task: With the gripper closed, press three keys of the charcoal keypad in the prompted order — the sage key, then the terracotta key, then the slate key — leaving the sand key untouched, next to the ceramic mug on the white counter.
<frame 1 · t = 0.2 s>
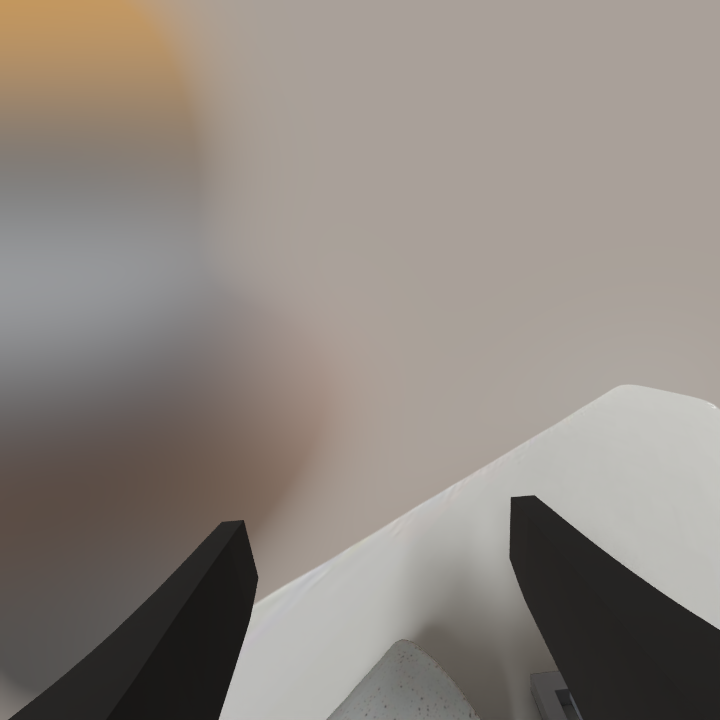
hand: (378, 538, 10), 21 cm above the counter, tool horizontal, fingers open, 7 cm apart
slate key: (625, 716, 20), point 3 cm above the counter, slide at 0.0 cm
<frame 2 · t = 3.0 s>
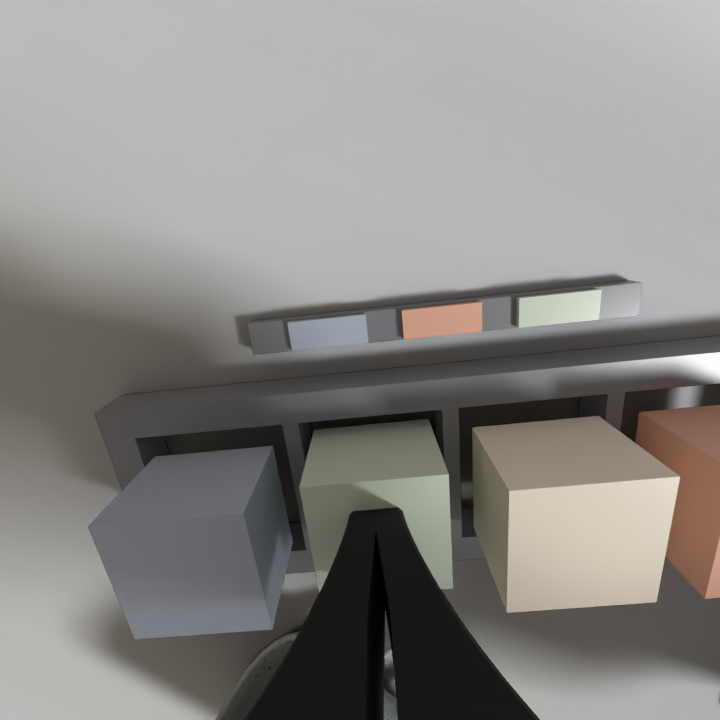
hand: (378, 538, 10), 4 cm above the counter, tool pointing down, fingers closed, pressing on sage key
keypad base: (443, 454, 13), on the counter
sage key: (377, 502, 11), point 2 cm above the counter, slide at 0.8 cm, touching gripper
sand key: (556, 507, 10), point 3 cm above the counter, slide at 0.0 cm
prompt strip: (437, 316, 12), on the counter
ceramic mug: (351, 661, 17), on the counter
slate key: (208, 535, 11), point 3 cm above the counter, slide at 0.0 cm
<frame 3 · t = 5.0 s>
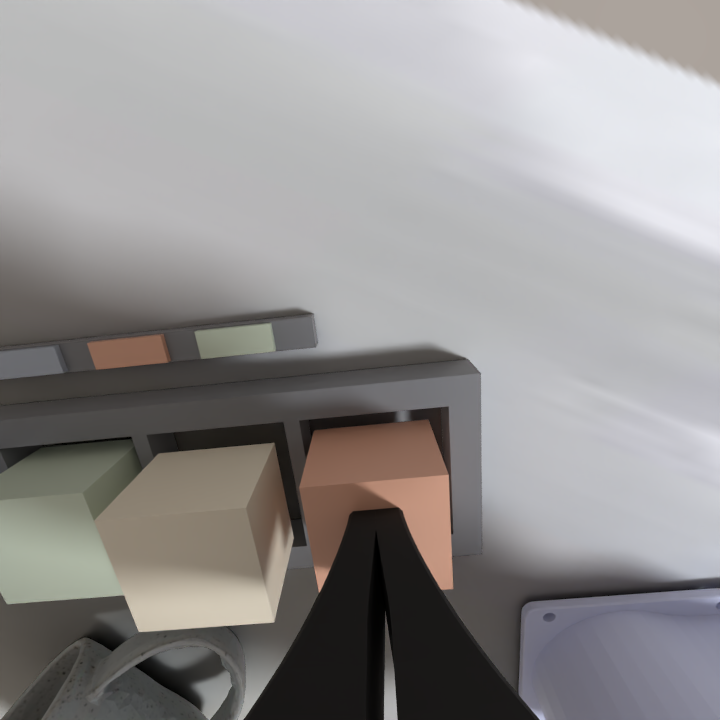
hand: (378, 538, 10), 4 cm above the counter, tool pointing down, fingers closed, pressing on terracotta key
keypad base: (179, 475, 14), on the counter
sage key: (79, 515, 12), point 2 cm above the counter, slide at 1.2 cm
sand key: (211, 530, 11), point 3 cm above the counter, slide at 0.0 cm
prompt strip: (140, 346, 12), on the counter
ceramic mug: (153, 666, 18), on the counter
terracotta key: (377, 503, 11), point 3 cm above the counter, slide at 0.6 cm, touching gripper
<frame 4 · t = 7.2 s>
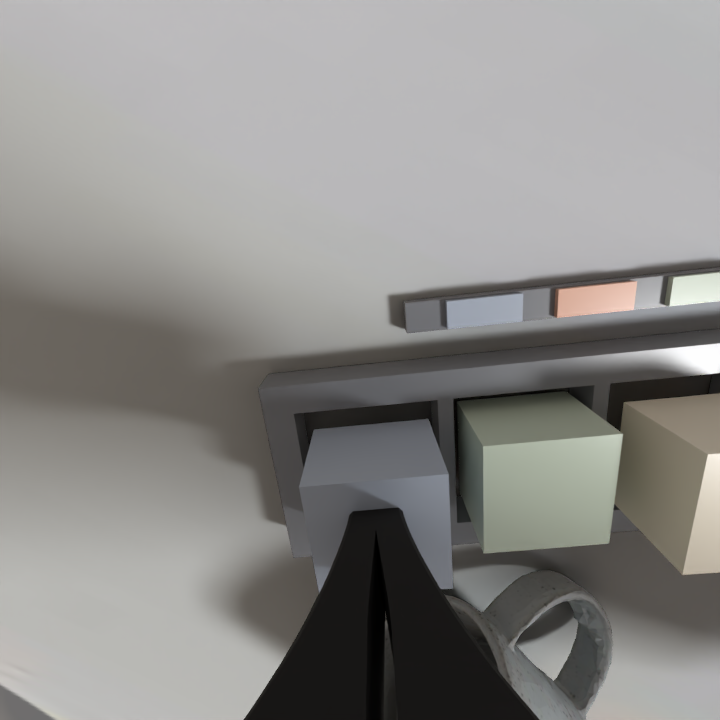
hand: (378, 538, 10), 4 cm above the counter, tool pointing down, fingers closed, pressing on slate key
keypad base: (573, 431, 14), on the counter
sage key: (527, 467, 12), point 2 cm above the counter, slide at 1.2 cm
sand key: (717, 476, 11), point 3 cm above the counter, slide at 0.0 cm
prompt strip: (583, 296, 12), on the counter
ceramic mug: (473, 627, 17), on the counter
slate key: (377, 502, 11), point 3 cm above the counter, slide at 0.1 cm, touching gripper
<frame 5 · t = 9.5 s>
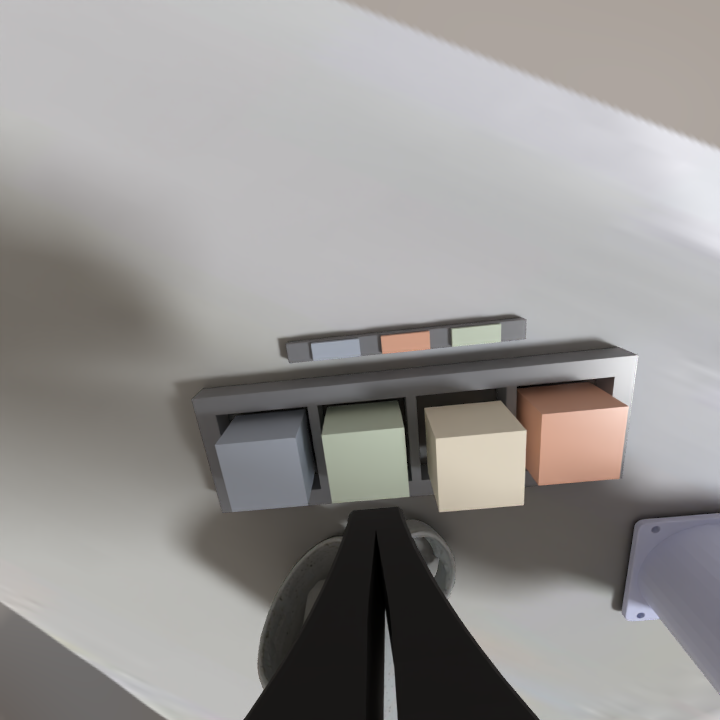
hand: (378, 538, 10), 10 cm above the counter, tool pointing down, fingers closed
keypad base: (410, 427, 20), on the counter
sage key: (366, 449, 19), point 2 cm above the counter, slide at 1.2 cm
sand key: (471, 453, 17), point 3 cm above the counter, slide at 0.0 cm
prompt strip: (404, 339, 19), on the counter
ceramic mug: (368, 564, 24), on the counter
slate key: (270, 458, 19), point 2 cm above the counter, slide at 1.2 cm
terracotta key: (564, 431, 18), point 2 cm above the counter, slide at 1.2 cm
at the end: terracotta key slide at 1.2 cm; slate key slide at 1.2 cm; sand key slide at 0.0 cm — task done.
